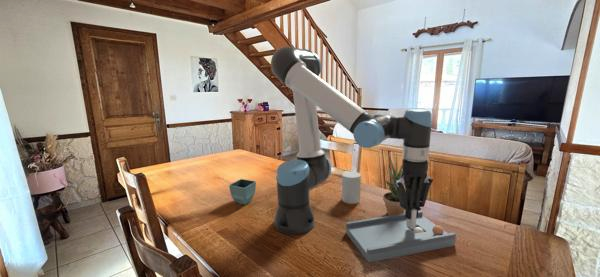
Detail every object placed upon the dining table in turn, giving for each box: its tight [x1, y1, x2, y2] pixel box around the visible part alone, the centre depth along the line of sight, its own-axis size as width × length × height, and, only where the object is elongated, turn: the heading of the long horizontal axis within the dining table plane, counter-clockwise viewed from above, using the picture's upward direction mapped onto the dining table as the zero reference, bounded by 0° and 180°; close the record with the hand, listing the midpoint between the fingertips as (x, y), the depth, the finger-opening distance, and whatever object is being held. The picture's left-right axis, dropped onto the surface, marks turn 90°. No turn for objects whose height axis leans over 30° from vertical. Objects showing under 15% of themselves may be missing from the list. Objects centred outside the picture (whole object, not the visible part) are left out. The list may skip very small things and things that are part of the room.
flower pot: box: [228, 178, 257, 205], centre depth 115 cm, size 9×9×9 cm
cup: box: [341, 171, 362, 205], centre depth 114 cm, size 8×8×12 cm
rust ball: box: [432, 224, 445, 236], centre depth 82 cm, size 3×3×3 cm
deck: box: [345, 210, 457, 263], centre depth 84 cm, size 30×16×4 cm, turn 103°
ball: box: [413, 227, 424, 233], centre depth 86 cm, size 3×3×3 cm
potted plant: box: [382, 154, 406, 216], centre depth 99 cm, size 10×10×25 cm
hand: (410, 226), depth 85 cm, fingers closed
